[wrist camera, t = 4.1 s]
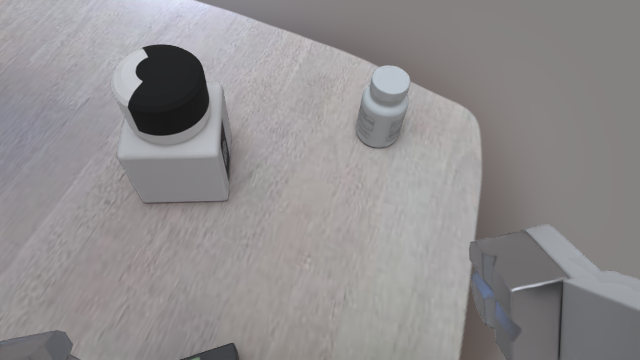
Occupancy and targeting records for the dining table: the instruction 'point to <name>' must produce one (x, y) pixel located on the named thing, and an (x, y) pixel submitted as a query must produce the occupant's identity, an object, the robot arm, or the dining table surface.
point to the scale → (217, 354)
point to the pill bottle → (383, 106)
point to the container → (172, 127)
